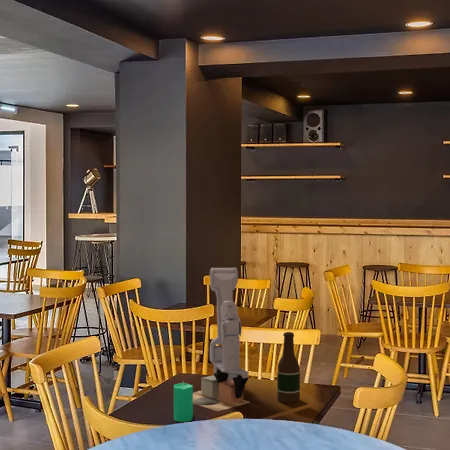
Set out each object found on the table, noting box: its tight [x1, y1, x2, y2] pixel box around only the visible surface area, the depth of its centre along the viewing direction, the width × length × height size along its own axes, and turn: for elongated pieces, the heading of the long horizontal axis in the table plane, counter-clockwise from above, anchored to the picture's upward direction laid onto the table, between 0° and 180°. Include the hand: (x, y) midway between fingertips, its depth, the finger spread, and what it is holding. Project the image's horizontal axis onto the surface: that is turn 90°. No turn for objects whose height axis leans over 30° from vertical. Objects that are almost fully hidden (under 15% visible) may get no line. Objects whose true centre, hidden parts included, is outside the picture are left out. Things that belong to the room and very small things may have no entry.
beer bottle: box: [276, 331, 301, 404], centre depth 232 cm, size 8×8×24 cm
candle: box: [173, 380, 194, 423], centre depth 215 cm, size 6×6×12 cm
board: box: [193, 390, 251, 412], centre depth 233 cm, size 15×22×1 cm
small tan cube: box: [219, 380, 244, 404], centre depth 232 cm, size 6×6×6 cm
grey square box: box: [200, 374, 219, 398], centre depth 239 cm, size 6×6×6 cm
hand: (230, 395), depth 232 cm, fingers open, 7 cm apart
